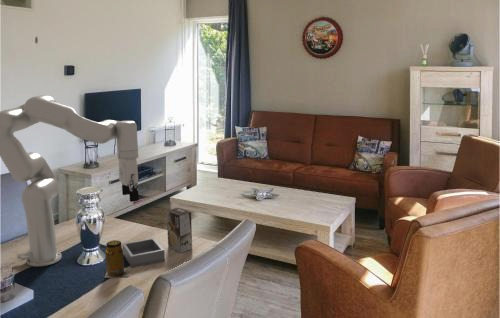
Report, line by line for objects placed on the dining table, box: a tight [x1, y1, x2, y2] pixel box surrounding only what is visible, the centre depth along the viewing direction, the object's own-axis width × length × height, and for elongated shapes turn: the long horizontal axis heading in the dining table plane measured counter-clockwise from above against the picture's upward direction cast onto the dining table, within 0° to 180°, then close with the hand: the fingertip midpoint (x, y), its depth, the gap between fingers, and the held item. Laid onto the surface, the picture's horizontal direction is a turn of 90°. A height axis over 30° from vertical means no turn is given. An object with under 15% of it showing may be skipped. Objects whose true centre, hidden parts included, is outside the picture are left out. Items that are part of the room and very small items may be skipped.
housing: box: [121, 237, 166, 269], centre depth 183 cm, size 13×14×4 cm
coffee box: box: [166, 207, 193, 253], centre depth 191 cm, size 9×6×16 cm
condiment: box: [104, 239, 132, 279], centre depth 169 cm, size 7×8×12 cm
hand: (130, 197), depth 176 cm, fingers open, 9 cm apart
